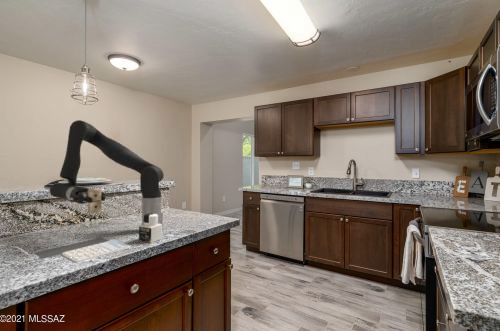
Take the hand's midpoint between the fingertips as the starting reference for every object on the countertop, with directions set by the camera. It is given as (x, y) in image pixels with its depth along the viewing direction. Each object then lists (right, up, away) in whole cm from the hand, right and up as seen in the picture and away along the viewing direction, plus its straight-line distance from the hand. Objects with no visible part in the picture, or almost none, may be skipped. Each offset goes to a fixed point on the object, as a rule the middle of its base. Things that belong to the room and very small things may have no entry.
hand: (98, 199), depth 105 cm
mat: (-7, -19, -4) cm, 21 cm away
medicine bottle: (+20, -20, +7) cm, 29 cm away
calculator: (+5, -20, -8) cm, 22 cm away
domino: (-2, -6, +2) cm, 7 cm away
